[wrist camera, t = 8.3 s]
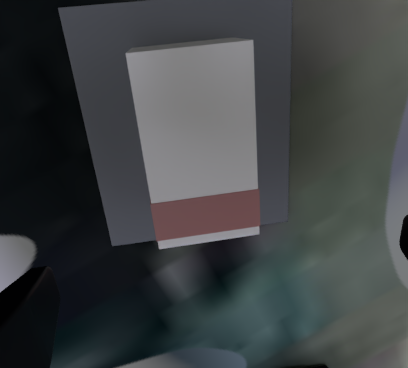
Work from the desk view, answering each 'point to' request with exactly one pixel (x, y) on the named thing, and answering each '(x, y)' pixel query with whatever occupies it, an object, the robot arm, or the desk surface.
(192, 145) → the card deck box
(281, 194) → the desk mat
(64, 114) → the desk surface
